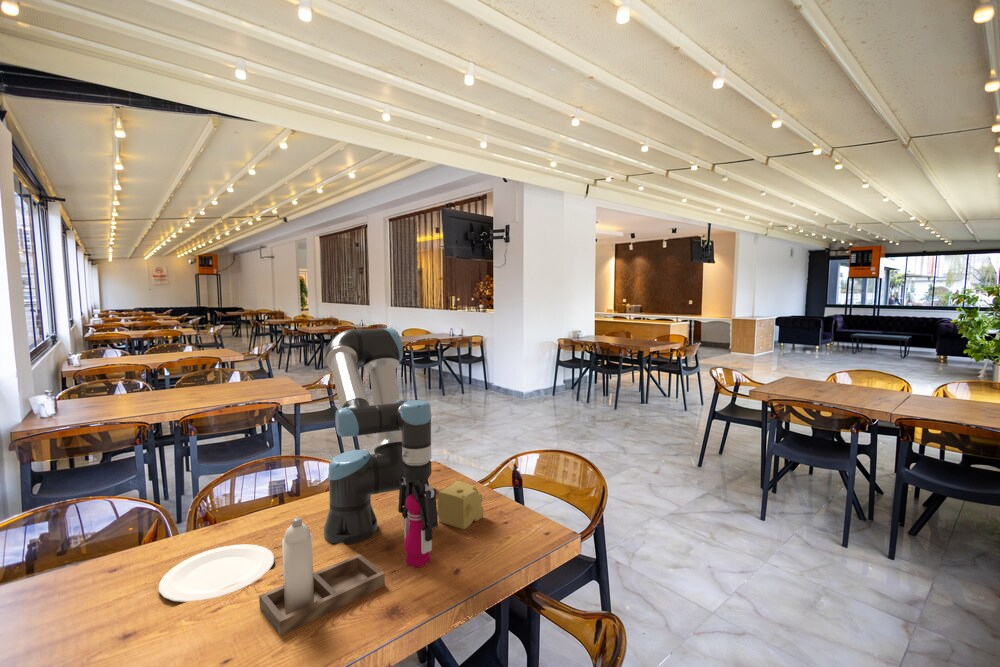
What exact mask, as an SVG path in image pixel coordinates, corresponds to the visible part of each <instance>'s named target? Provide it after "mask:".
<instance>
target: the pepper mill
mask: <svg viewBox="0 0 1000 667" xmlns="http://www.w3.org/2000/svg"><path fill="white" fill-rule="evenodd" d="M424 497H425V496H423V497H421V498H424ZM421 498H420V499H421ZM406 508H407V509H408V510H409V511H408V518H409V520H410V526H409V531H408V533H407V535H406V538H405V541H404V542H403V550H404V552H405V553H406V555H405V563H406V565H407V566H409V567H413V568H421V567H423V566H426V565H427V564H429V562H430V561H431V551H429V552H427V553H425V554H422V550H421V528H423V523H422V519H421V514H420V506H419V503H417V502H416V499H415V495H413V494H410V495H409V496H408V497H407V499H406Z"/></svg>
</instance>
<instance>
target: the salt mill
mask: <svg viewBox="0 0 1000 667" xmlns="http://www.w3.org/2000/svg"><path fill="white" fill-rule="evenodd" d="M302 520H303V518H302V517H294V518H293V519H292V520H291V525H290V526H289V527H288V528H287V529H286V530H285V532H284V536H283V538H282V540H281V541H282V544H281V545H282V546H281V548H282V572H283V574H282V575H283V585H284V606H285V614H286V615H288V614H290V613H292V612H294V611H296V610H298V609H301V608H303V607H305V606H307V605H309V604H312V603H314V580H313V573H314V555H313V554H314V552H313V551H314V550H313V549H314V548H313V534H312V533H311V531H310V528H309V527H308V526H307V525H306V524H305V523H303V521H302Z"/></svg>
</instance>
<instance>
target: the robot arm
mask: <svg viewBox="0 0 1000 667" xmlns="http://www.w3.org/2000/svg"><path fill="white" fill-rule="evenodd" d="M324 355H325V362H326V365H327V367H328V368H329V370H331V373H332V378H333V381H334V385H335V390H336V393H337V394H336V395H337V399H338V402H339V406H340V408H338V409H337V410H336V411H335V414H334V416H335V417H334V418H335V419H334V420H335V422H334V423H335V429H336V430H335V431H336V434H337V435H338V436H339V437H341V438H344V437H345V438H346V437H347V438H348V437H352V438H354V437H359V436H366V435H374V434H376V436H377V444H376V446H375V447H374V448H373V452H374V453H373V454H372V453H370V451H369V450H366V449H352V450H347V451H344V452H342V453H340V454H337V455H336V456H334V457H333V458H332V459H331V460H330V462H329V464H328V475H327V477H328V478H327V479H328V488H329V489H328V492H329V499H328V500H329V510H328V513H327V517H326V519H325V524H324V526H323V537H324V539H325V540H326V541H327V542H329V543H332V544H336V545H338V544H342V543H343V544H344V545H349V544H351V545H352V544H355V543H356V544H357V543H360V542H363V541H365V540H367V539H369V538H371V537H372V536H374V535H375V534H376V532H378V531H377V530H378V519H377V516H376V514H375V510H374V509H373V506H372V498H371V496H372V495H379V494H384V493H389V492H394V491H395V492H396V491H399V493H398V494H399V495H398V508H397V510H398V513H399V514H401V516H402V517H403V528H404V531H403V532H404V535H403V536H404V537H403V538H404V541H405V538H406V535H407V533H408V531H409V526H410V520H409V518H408V511H409V510H408V509H407V508H406V499H407V497H408V496H409V495H410V494H413V495H415V499H416V502H417V503H419V506H420V514H421V519H422V523H423V528H421V550H422V554H425V553H427V552H431V551H432V549H433V541H432V540H433V529H435V528H438V527H439V517H438V505H437V492H438V491H437V489H436V488H431V487H430V482H429V478H430V477H431V475H432V461H431V459H432V416H433V415H432V411H431V405H430V402H428V401H426V400H420V399H419V400H417V399H415V400H413V399H412V400H406V399H401V398H400V397H401V396H400V390H399V385H398V377H397V371H396V369H397V368H398V367H399V366H400V361H402V360H403V358H404V357H403V356H404V347H403V343H402V339H401V336H400V333H399V332H398V331H397V330H396V329H394V328H386V327H381V328H349V329H346V330H343V331H342V332H339V333H338V334H336V335H335V336H334V337H333V338H331V340H330V342H329V343H328V344H327V347H326V349H325V354H324ZM359 364H362V365H363V369H364V371H366V372H368V374H369V380H370V387H371V388H370V389H371V396H372V405H371V404H370V403H369V400H368V396H367V392H366V389H365V386H364V382H363V380H362V377H361V374H360V371H359V367H358V365H359ZM423 496H425V497H424V498H421V497H423ZM420 498H421V499H420Z"/></svg>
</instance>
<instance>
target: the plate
mask: <svg viewBox="0 0 1000 667" xmlns="http://www.w3.org/2000/svg"><path fill="white" fill-rule="evenodd" d="M274 563H275V556H274V553H273V551H271V550H270V549H268V548H267V547H265V546H261V545H257V544H247V543H246V544H244V543H243V544H232V545H226V546H220V547H216V548H213V549H209V550H205V551H202V552H200V553H198V554H195V555H193V556H191V557H188V558H187V559H185V560H183V561H181V562H180V563H178V564H177V565H175V566H173V567H172V568H171V569H170V570H168V571H167V572H166V573H165V574H164V575H163V576H162V578H161V580H160V582H159V584H158V593H159V594H160V595H161V596H162V598H163V599H165V600H168V601H171V602H174V603H188V602H193V601H194V602H195V601H196V602H197V601H205V600H209V599H214V598H220V597H222V596H226V595H228V594H231V593H234V592H236V591H239V590H241V589H243V588H245V587H247V586H249V585H251V584H253V583H254V582H256V581H257V580H259V579H260V578H262V577H263V576H264V575H265V574H266V573H267V572H268V571H270V570H271V568H272V567H273V566H274Z"/></svg>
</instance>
